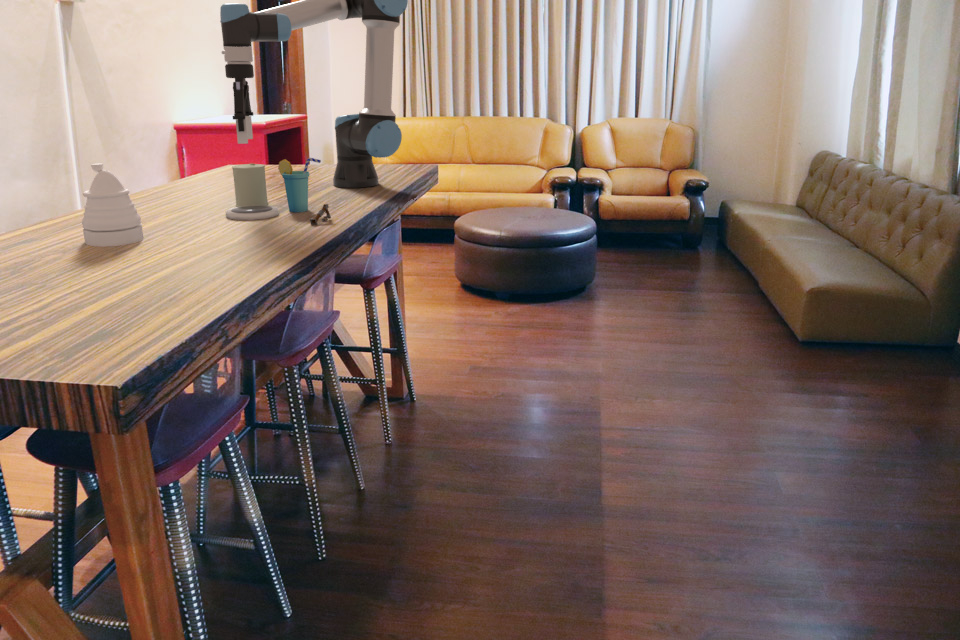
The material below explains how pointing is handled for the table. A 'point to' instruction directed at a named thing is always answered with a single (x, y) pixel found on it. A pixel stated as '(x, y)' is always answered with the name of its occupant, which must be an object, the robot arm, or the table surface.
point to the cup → (296, 185)
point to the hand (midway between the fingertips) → (245, 141)
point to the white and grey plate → (252, 212)
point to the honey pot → (109, 212)
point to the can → (250, 184)
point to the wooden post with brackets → (320, 213)
